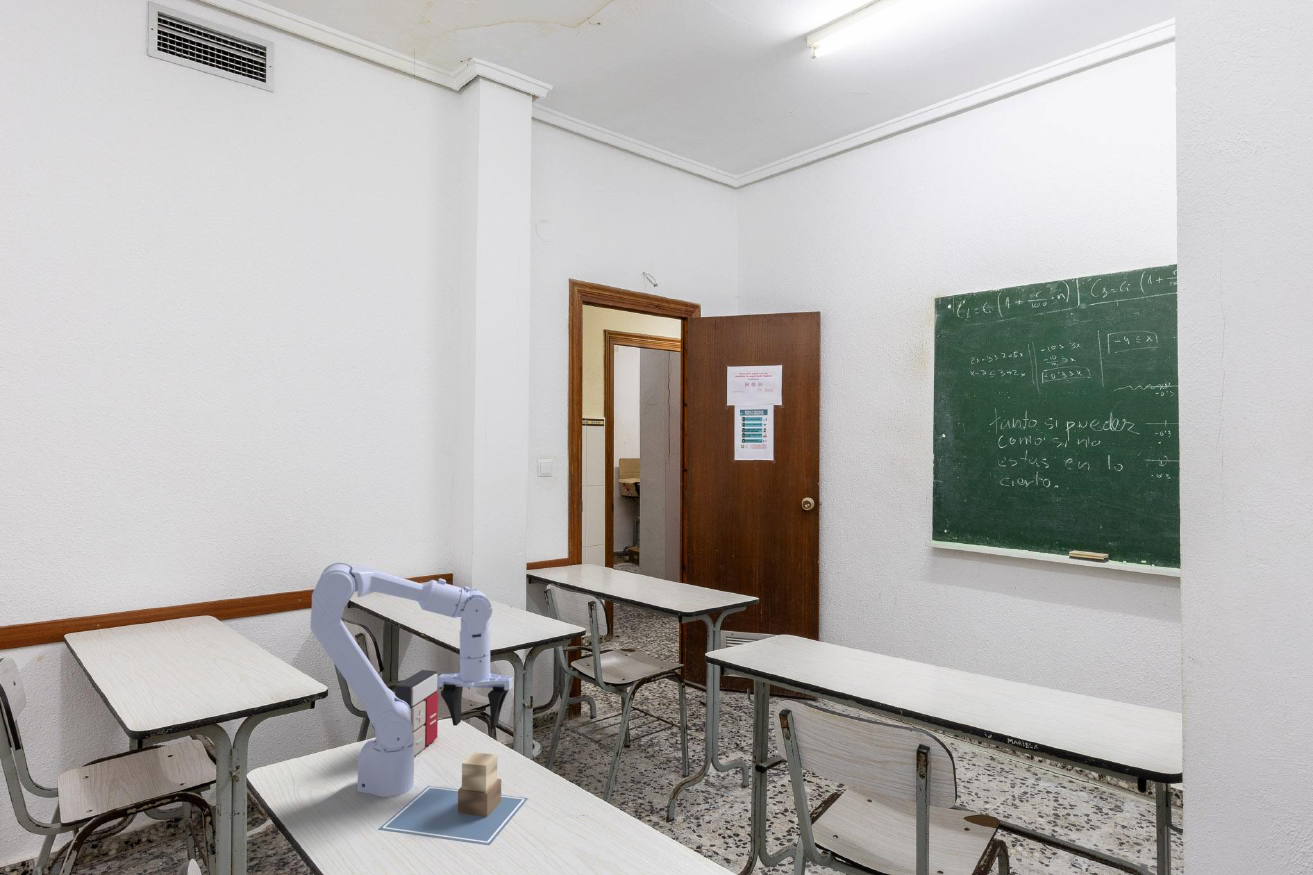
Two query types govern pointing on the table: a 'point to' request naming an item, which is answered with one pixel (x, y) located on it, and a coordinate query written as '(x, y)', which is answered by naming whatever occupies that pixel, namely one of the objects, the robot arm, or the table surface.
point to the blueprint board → (451, 817)
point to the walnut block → (479, 800)
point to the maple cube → (479, 772)
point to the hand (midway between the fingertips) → (475, 724)
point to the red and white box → (421, 706)
